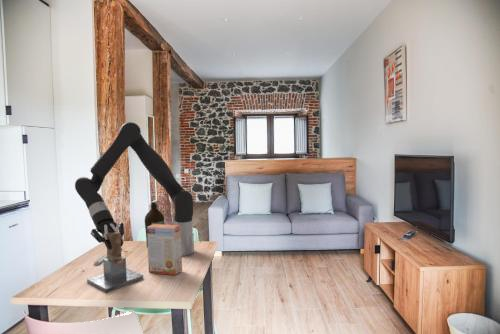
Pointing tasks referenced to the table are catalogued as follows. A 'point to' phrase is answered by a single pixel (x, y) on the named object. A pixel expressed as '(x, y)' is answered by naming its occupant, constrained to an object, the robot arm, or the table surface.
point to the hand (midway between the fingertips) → (116, 246)
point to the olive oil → (153, 217)
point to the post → (114, 246)
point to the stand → (114, 276)
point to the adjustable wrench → (101, 259)
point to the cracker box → (164, 249)
